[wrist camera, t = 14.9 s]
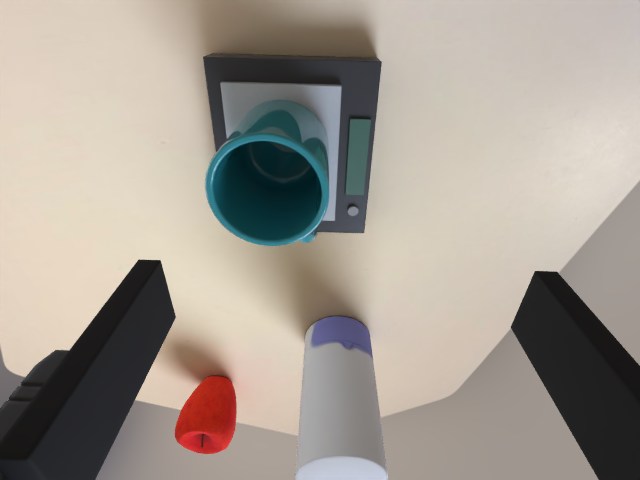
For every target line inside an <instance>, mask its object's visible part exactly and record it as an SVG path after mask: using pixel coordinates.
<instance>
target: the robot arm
mask: <svg viewBox="0 0 640 480" xmlns="http://www.w3.org/2000/svg"><path fill="white" fill-rule="evenodd" d="M175 318H176V316H175V313H174V309H173V305H172V301H171V298H170V294H169V290H168V286H167V283H166V279H165V275H164V272H163V268H162V264H161V260H138V261H137V263H136V264H135V265H134V267H133V268H132V269H131V271H130V272H129V273H128V274H127V276H126V277H125V278H124V280H123V281H122V282H121V284H120V285H119V286H118V288H117V289H116V290H115V292H114V293H113V294H112V295H111V297H110V298H109V299H108V301H107V302H106V303H105V305H104V306H103V307H102V309H101V310H100V311H99V313H98V314H97V315H96V316H95V318H94V319H93V320H92V322H91V323H90V324H89V326H88V327H87V328H86V330H85V331H84V332H83V334H82V335H81V336H80V337H79V339H78V340H77V341H76V343H75V344H74V345H73V347H72V348H71V349H70V351H67V350H55V351H54V352H52V353H51V354H50V355H48V356H47V357H46V358H44V359H43V360H42V361H41V362H39V363H38V364H37V365H35V367H34V368H33V369H32V370H31V371H30V373H29V374H28V375H27V376H26V378H25V379H24V380H23V381H22V382H21V383H22V384H21V386H18V387H17V388H16V390H15V391H14V392H13V393H12V395H11V396H10V397H9V401H6V402H5V403H4V404H3V405H2V407H1V408H0V480H95V479H96V477H97V475H98V473H99V471H100V469H101V467H102V465H103V463H104V460H105V459H106V457H107V455H108V452H109V450H110V448H111V446H112V444H113V443H114V440H115V439H116V436H117V435H118V432H119V430H120V428H121V426H122V424H123V422H124V420H125V418H126V416H127V414H128V412H129V410H130V408H131V406H132V404H133V402H134V400H135V398H136V396H137V394H138V392H139V390H140V388H141V386H142V384H143V382H144V380H145V378H146V376H147V374H148V372H149V370H150V368H151V366H152V364H153V362H154V360H155V358H156V356H157V354H158V352H159V350H160V348H161V346H162V344H163V342H164V340H165V338H166V336H167V334H168V332H169V330H170V328H171V326H172V324H173V322H174V320H175ZM511 329H512V330H513V332H514V334H515V335H516V337H517V339H518V341H519V342H520V344H521V346H522V347H523V349H524V351H525V353H526V354H527V356H528V358H529V360H530V361H531V363H532V365H533V367H534V368H535V370H536V372H537V374H538V375H539V377H540V379H541V380H542V382H543V384H544V386H545V387H546V389H547V391H548V393H549V394H550V396H551V398H552V399H553V401H554V403H555V405H556V406H557V408H558V410H559V412H560V413H561V415H562V417H563V419H564V420H565V422H566V424H567V425H568V427H569V429H570V431H571V432H572V434H573V436H574V438H575V439H576V441H577V443H578V445H579V446H580V448H581V450H582V451H583V453H584V455H585V457H586V458H587V460H588V462H589V464H590V465H591V467H592V469H593V470H594V472H595V474H596V475H597V477H598V479H599V480H640V366H639V365H638V363H637V362H636V361H635V360H634V359H633V358H632V357H631V355H630V354H629V353H628V352H627V351H626V350H625V349H624V348H623V347H622V345H621V344H620V343H619V342H618V341H617V340H616V338H615V337H614V336H613V335H612V334H611V333H610V332H609V330H608V329H607V328H606V327H605V326H604V325H603V324H602V322H601V321H600V320H599V319H598V318H597V317H596V316H595V314H594V313H593V312H592V311H591V310H590V309H589V308H588V307H587V305H586V304H585V303H584V302H583V301H582V300H581V299H580V297H579V296H578V295H577V294H576V293H575V292H574V291H573V289H572V288H571V287H570V286H569V285H568V284H567V283H566V282H565V280H564V279H563V278H562V277H561V276H560V275H559V273H558V272H548V271H535V272H534V275H533V277H532V279H531V282H530V284H529V286H528V289H527V291H526V293H525V296H524V298H523V300H522V302H521V305H520V307H519V309H518V312H517V314H516V316H515V319H514V321H513V323H512V326H511Z"/></svg>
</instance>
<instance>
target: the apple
mask: <svg viewBox="0 0 640 480" xmlns="http://www.w3.org/2000/svg"><path fill="white" fill-rule="evenodd" d="M235 423H236V395H235V390H234V387H233V385H232V382H231V381H230V380H228V379H227V378H224V377H221V376H211V377H208V378H206V379H204V380H203V382H202V383H201V384H200V385H199V386H198V387H197V388H196V389H195V391H194V392H193V393H192V395H191V396H190V397H189V399H188V400H187V401H186V403H185V405H184V406H183V408H182V410H181V413H180V415H179V418H178V421H177V424H176V428H175V438H176V440H177V442H178V443H179V444H181V445H182V446H183V447H185V448H187V449H189V450H191V451H194V452H197V453H203V454H212V453H217V452H220V451H222V450H224V449H226V447H227V446H228V445H229V443H230V441H231V439H232V437H233V434H234V431H235V425H236V424H235Z"/></svg>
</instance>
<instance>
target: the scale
mask: <svg viewBox="0 0 640 480" xmlns="http://www.w3.org/2000/svg"><path fill="white" fill-rule="evenodd" d="M203 60H204V67H205V75H206V82H207V89H208V96H209V104H210V111H211V118H212V126H213V133H214V140H215V147H216V152H217V151H218V150H219V148H220V147H221V146H222V145H223V143H224V142H225V141H226V140H227V138H228V137H229V136H230V134H231V133H232V132H233V131H234V129H235V128H236V127H237V126H238V124H239V123H240V122H241V120H242V119H243V118H244V117H245V115H246V114H247V113H248V112H249V111H250V110H252V109H253V108H254V107H256V106H257V105H259V104H261V103H264V102H267V101H271V100H289V101H293V102H296V103H299V104H301V105H303V106H304V107H306V108H308V109H309V110H310V111H312V112H313V113H314V114H315V115H316V116H317V117H318V119H319V120H320V121H321V123H322V125H323V126H324V128H325V131H326V133H327V137H328V142H329V193H330V196H329V204H328V208H327V211H326V214H325V216H324V218H323V219H322V221H321V223H320V224H319V225H318V226H317V232H339V233H364V228H365V219H366V209H367V199H368V189H369V180H370V170H371V160H372V150H373V141H374V131H375V121H376V112H377V102H378V92H379V82H380V73H381V63H382V62H381V61H380V60H379V59H378V58H362V57H324V56H286V55H248V54H210V55H207V56H205V57H203Z"/></svg>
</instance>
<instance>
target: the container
mask: <svg viewBox="0 0 640 480" xmlns="http://www.w3.org/2000/svg"><path fill="white" fill-rule="evenodd" d="M295 475H296V476H295V478H296V480H388V474H387V467H386V459H385V451H384V443H383V435H382V427H381V419H380V411H379V403H378V396H377V388H376V380H375V372H374V364H373V356H372V348H371V340H370V334H369V332H368V330H367V328H366V327H365V326H364V325H363V324H362V323H360V322H359V321H357V320H355V319H352V318H348V317H342V316H333V317H327V318H324V319H321V320H319V321H317V322H315V323H314V324H313V325H312V326H311V327H310V328H309V329H308V331H307V333H306V336H305V349H304V363H303V377H302V391H301V405H300V419H299V433H298V447H297V462H296V474H295Z"/></svg>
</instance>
